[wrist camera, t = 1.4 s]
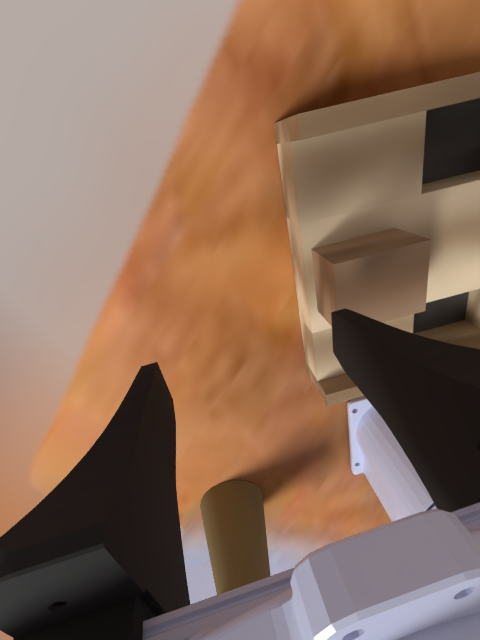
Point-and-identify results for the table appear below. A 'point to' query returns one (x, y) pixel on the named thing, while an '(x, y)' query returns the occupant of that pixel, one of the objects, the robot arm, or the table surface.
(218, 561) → the cork
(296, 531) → the table surface
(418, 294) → the walnut block
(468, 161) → the board
